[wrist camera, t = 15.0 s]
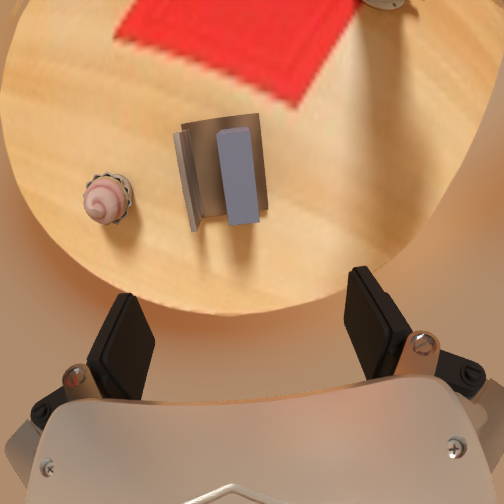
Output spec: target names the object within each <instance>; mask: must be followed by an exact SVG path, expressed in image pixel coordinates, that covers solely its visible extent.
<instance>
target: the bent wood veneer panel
mask: <svg viewBox="0 0 504 504" xmlns="http://www.w3.org/2000/svg"><path fill="white" fill-rule="evenodd" d="M181 127H182V131H180V132H177V133H174V134H173V137H174V143H175V149H176V155H177V161H178V166H179V172H180V177H181V183H182V188H183V193H184V198H185V203H186V208H187V213H188V218H189V222H190V227H191V232H197V230H198V227H199V224H200V221H201V218H202V217H210V216H217V215H225V214H227V207H226V201H225V194H224V187H223V180H222V173H221V166H220V159H219V152H218V145H217V137H216V134H217V133H218V132H219V131H220V130H223V129H230V128H239V127H248V128H249V130H250V137H251V146H252V155H253V164H254V173H255V182H256V192H257V201H258V210H267V209H268V199H267V188H266V178H265V168H264V158H263V148H262V139H261V130H260V120H259V113H256V114H246V115H237V116H229V117H222V118H215V119H209V120H202V121H197V122H191V123H186V124H181Z"/></svg>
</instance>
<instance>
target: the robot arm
mask: <svg viewBox="0 0 504 504" xmlns="http://www.w3.org/2000/svg"><path fill="white" fill-rule="evenodd" d="M361 1H363V2H364V3H366V4H368V5H369V6H372V7H374V8H377V9H380V10H394V9H397V8H399V7H400V6H402V5H403V3H404V2H405V0H361ZM422 1H424V0H422ZM493 2H495V3H496V4H497V5H498V6H499V7H501V8H503V9H504V0H493ZM344 324H345V327H346V329H347V332H348V334H349V337H350V339H351V342H352V344H353V347H354V349H355V351H356V354H357V356H358V359H359V362H360V364H361V367H362V369H363V372H364V374H365V377H366V380H367V381H362V382H358V383H353V384H348V385H343V386H339V387H332V388H328V389H322V390H316V391H310V392H304V393H298V394H290V395H282V396H274V397H265V398H255V399H243V400H227V401H200V402H167V401H142V400H141V397H142V393H143V389H144V385H145V381H146V377H147V372H148V369H149V365H150V361H151V358H152V353H153V350H154V347H155V338H154V336H153V334H152V332H151V329H150V327H149V325H148V323H147V321H146V319H145V316H144V314H143V311H142V309H141V307H140V304H139V302H138V300H137V298H136V296H133V294H132V293H121V294H119V295H118V296H117V298H116V300H115V302H114V303H113V306H112V307H111V309H110V311H109V313H108V315H107V317H106V319H105V321H104V323H103V325H102V327H101V329H100V331H99V333H98V336H97V338H96V340H95V342H94V344H93V346H92V348H91V351H90V353H89V355H88V357H87V364H86V365H85V364H75V365H73V366H71V367H70V368H69V369H67V370H66V371H65V373H64V375H63V378H62V383H63V386H62V387H60V388H59V389H57V390H56V391H54V392H53V393H51V394H49V395H48V396H46V397H45V398H43V399H42V400H40V401H38V402H37V403H36V404H35V405H34V406H33V408H32V410H31V420H30V421H29V420H28V419H27V420H26V421H25V422H24V423H23V424H22V425H21V427H20V428H19V429H18V430H17V431H16V432H15V433H14V434H13V435H12V436H11V438H10V439H9V440H8V441H7V443H6V445H5V454H6V457H7V458H8V460H9V462H10V463H11V465H12V467H13V468H14V470H15V472H16V473H17V475H18V476H19V478H20V479H21V481H22V482H23V484H24V485H25V486H26V488H27V495H26V503H25V504H498V502H497V497H496V493H495V489H494V485H493V481H492V477H491V473H492V472H493V470H494V468H495V467H496V465H497V463H498V462H499V460H500V458H501V456H502V455H503V453H504V387H503V386H501V385H500V384H498V383H497V382H496V381H494V380H493V379H490V380H487V379H486V374H485V371H484V369H483V368H482V366H480V365H479V364H478V363H475V362H474V361H471V360H468V359H465V358H463V357H459V356H457V355H454V354H451V353H449V352H446V351H443V350H440V343H439V340H438V339H437V338H436V336H434V335H433V334H432V333H430V332H427V331H415V332H413V331H412V329H411V328H410V326H409V324H408V323H407V321H406V320H405V318H404V316H403V315H402V313H401V312H400V310H399V309H398V307H397V306H396V304H395V303H394V301H393V300H392V298H391V297H390V295H389V294H388V293H386V292H384V291H383V289H382V288H381V286H380V285H379V283H378V282H377V280H376V279H375V278H374V276H373V275H372V273H371V272H370V270H369V269H368V267H367V266H360V267H354V268H353V269H352V271H350V272H349V275H348V285H347V296H346V303H345V312H344Z"/></svg>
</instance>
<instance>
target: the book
mask: <svg viewBox="0 0 504 504" xmlns="http://www.w3.org/2000/svg"><path fill="white" fill-rule="evenodd" d="M216 137H217V145H218V152H219V159H220V166H221V173H222V180H223V187H224V194H225V201H226V207H227V214H228V221H229V226H232V225H240V224H248V223H257V222H260V220H259V211H258V201H257V192H256V182H255V173H254V164H253V155H252V146H251V137H250V130H249V128H248V127H239V128H230V129H223V130H220V131H219V132H218V133H217V134H216Z"/></svg>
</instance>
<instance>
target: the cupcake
mask: <svg viewBox="0 0 504 504" xmlns="http://www.w3.org/2000/svg"><path fill="white" fill-rule="evenodd" d="M86 189H87V190H86V192H85V193H84V195H83V197H84V201H83V204H84V208H85V210H86V213H87V214H88V215H89V216H90V217H91V218H92V219H93V220H94V221H96V222H98V223H100V224H104V225H109V224H110V223H114V224H116V225H118V224H119V223H120V220H121V218H126V217H127V215H128V208H129V207H130V206H131V205H132V202H131V199H132V187H131V185H130V183H129V181H128V180H127V179H126V178H125V177H123V176H121V175H117V174H113V175H112V174H111V173H109V172H106V173H105V174H103V175H100V174H95V175H94V177H93V180H92V181H90V182H87V183H86Z"/></svg>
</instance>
